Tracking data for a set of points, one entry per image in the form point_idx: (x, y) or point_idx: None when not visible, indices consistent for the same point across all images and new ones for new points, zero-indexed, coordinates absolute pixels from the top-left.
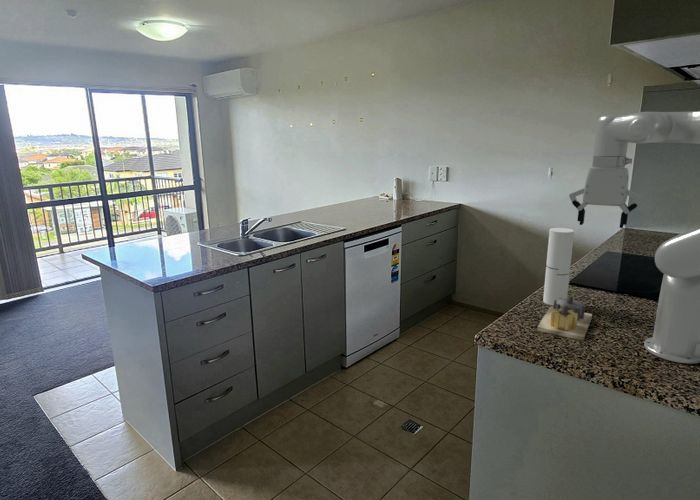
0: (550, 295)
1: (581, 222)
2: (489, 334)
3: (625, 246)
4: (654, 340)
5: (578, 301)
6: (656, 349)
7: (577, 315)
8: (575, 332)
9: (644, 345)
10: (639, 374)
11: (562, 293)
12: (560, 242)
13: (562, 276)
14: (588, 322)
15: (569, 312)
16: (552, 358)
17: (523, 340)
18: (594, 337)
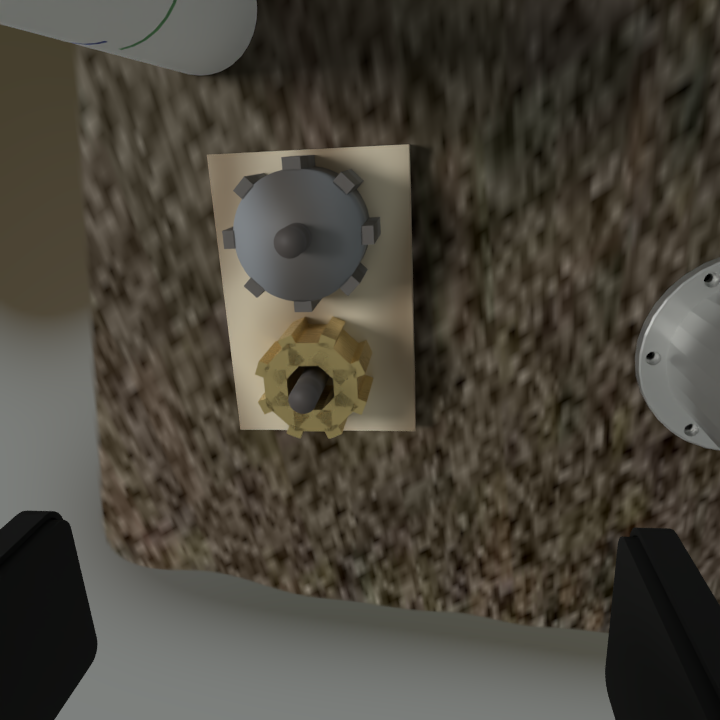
0: (165, 67)
1: (69, 688)
2: (125, 531)
3: None
4: (679, 398)
5: (331, 183)
6: (678, 409)
7: (365, 372)
8: (379, 408)
9: (636, 367)
10: (605, 576)
11: (217, 42)
12: None
13: (161, 33)
14: (409, 269)
15: (328, 371)
16: (353, 595)
17: (235, 521)
18: (449, 370)
